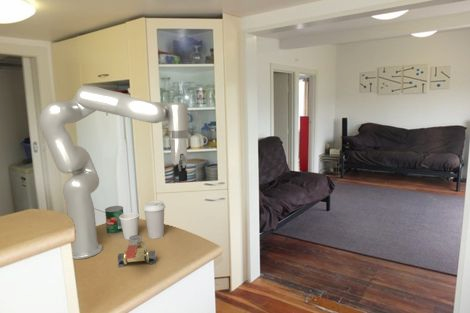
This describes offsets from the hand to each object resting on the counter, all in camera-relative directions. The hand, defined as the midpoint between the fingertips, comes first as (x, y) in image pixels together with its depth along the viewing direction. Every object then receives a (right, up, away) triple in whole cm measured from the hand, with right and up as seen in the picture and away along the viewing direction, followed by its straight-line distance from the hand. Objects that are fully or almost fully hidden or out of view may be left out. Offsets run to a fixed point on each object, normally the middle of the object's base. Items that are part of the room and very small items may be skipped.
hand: (180, 178), depth 132 cm
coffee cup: (-14, -27, +18) cm, 35 cm away
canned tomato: (-34, -26, +25) cm, 49 cm away
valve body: (-15, -31, -8) cm, 35 cm away
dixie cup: (-25, -27, +17) cm, 41 cm away
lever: (-14, -24, -14) cm, 31 cm away
